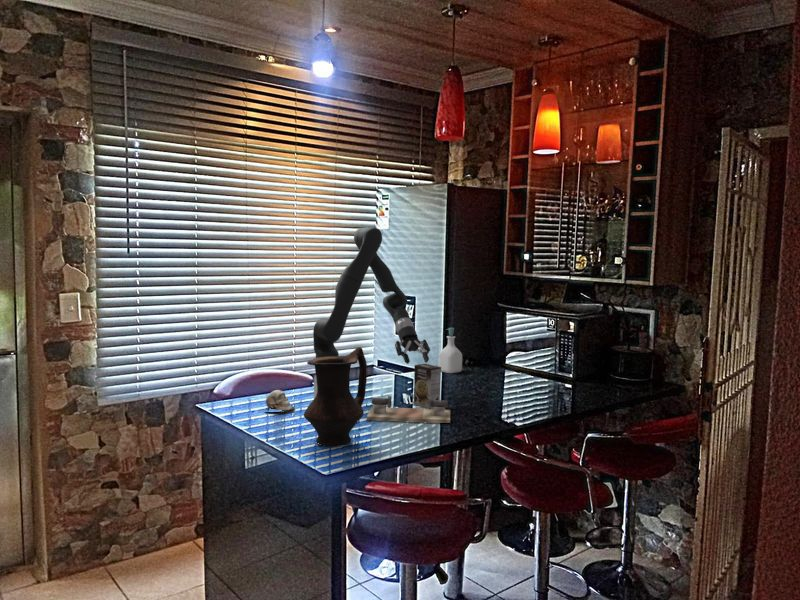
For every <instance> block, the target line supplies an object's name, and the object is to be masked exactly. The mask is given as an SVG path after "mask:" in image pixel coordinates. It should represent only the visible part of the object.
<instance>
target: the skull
mask: <svg viewBox="0 0 800 600" xmlns="http://www.w3.org/2000/svg"><path fill="white" fill-rule="evenodd" d="M265 403H266V406H267V407H268V408H267V409H269V408H271V409H276V410H282V411H286V412H291V411H294V410H295V406H292V405H291V402H290V401H289V398H288V397H286V393H285V392H284V391H283V390H280V389H276V390H275V389H274V390H272V391H271V392H270V393H269V394H268V395H267V397H266V399H265ZM291 406H292V407H291ZM286 412H285V413H286Z"/></svg>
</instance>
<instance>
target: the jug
mask: <svg viewBox="0 0 800 600" xmlns="http://www.w3.org/2000/svg"><path fill="white" fill-rule="evenodd" d="M306 362H307V365H310V366H314V371H315V376H316V380H317V395H316V397H315V399H314V398H313V400H312V401H311V402H310V403H309V405H308V406H307V407H306V409H305V411H304V412H303V417H304V418H305V419H306V421H307V422H308V423H309V424H311V426H312V428H314V431H316V433H317V438H316V440H315V443H316V442H317V443H319V444H321V445H320V446H322V445H325V446H324V447H328V446H331V447H334V446H335V447H342V446H343V445H345V446H346V445H349V444H350V443H351V442H352V438H351V436H350V434H351V433H350V432H352V430H353V428H354V427H355V426H356V425H357V424H358V422H359V421H360V420H361V419H362V417H363V415H364V410H363V403H364V401H365V398H366V389H367V380H368V379H367V377H368V371H367V368H368V365H367V363H368V362H367V360H366V357H365V354H364V350H363V348H362V347H361V346H358V347H356V348H355V349H354V350H353V351H351V352H350V353H349V354H347V355H339V356H335V357H319V358H316V357H314V358H313V359H308V360H307V361H306ZM357 363H358V367H359V368H358V370H359V372H358V373H359V374H358V384H357V391H356V395H355V397H354V396H353V394H352V393H351V390H350V385H351V382H350V381H351V379H350V372H351V366H352V365H355V364H357ZM317 443H316V444H317ZM319 444H318V445H319Z"/></svg>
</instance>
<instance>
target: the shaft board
mask: <svg viewBox="0 0 800 600" xmlns="http://www.w3.org/2000/svg"><path fill="white" fill-rule="evenodd" d="M448 402H449V400H443V399H442V400H441V399H440V400H432V397H429V404H428V408H413V407H411V408H410V407H409V408H408V407H392V395H387V398H386V397H371V405H373V406H371V407H370V409H369V412H367V415H366V421H367V420H376V422H390V421H409V422H408V423H414V422H426V423H425V424H438V423H450V424H451V409H446V408H448V405H449V403H448ZM431 407H434V408H432V409H431Z"/></svg>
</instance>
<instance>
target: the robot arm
mask: <svg viewBox="0 0 800 600" xmlns="http://www.w3.org/2000/svg"><path fill="white" fill-rule="evenodd" d="M353 240H354V243H355V246H356V247H357V249H358V253H357V255H356V256H355V258H353V259H352V260H351V262H350V263H348V264H347V266H346V267H345V268H344V269H343V271H342V272H341V274H340V277H339V279H338V281H337V283H336V285H335V290H334V291H335V295H334V296H335V297H334V299H335V300H334V306H333V308H332V311H331V314H330V316H329V317H328V318H326V317H322V318H319V319H318V320H316V322H315V323H314V325H313V338H312V339H313V351H314V355H315V358H319V357H335V356H340V355H339V351H338V349H336V346H335V343H336V342H337V341H339V340H340V338H341V337H342V334H343V333H344V329H345V328H346V327H345V326H346V323H347V320H348V317H349V314H350V311H351V309H352V306H353V305H354V302H355V300H356V297H357V295H358V293H359V291H360V289H361V286H362V284H363V281H364V279H365V276H366V274H367V272H368V270H369V269H371V271H372V273H373V275H374V277H375V279H376V281H377V284H378V287H379V288H380V290H381V292H382V293H391V294H389V295H385V296H384V297H383V299H382V305H383V307H384V308H385V310H386V311H387V312H388V314H389V315H390V316H391V318H392V321H393V322H394V326H395V330H396V331H395V332H396V333H397V335H398V339H399V340H396V342H395V344H394V347H395V351H396V354H397V356H398V357H399V356H402V358H403V361H404V363H406V365H409V363H410V362H411V359H410V357H409V355H408V353H407V352H417V353H419V354H421V356H422V358H423V361H424V362H425V363H424V364H428V362H429V361H430V358H429V353H430V352H431V348H430V346H429V344H428V342H427V340H426V339H425V338H424V339H423V340H419V338H418V333H417V332H416V329H415V326H414V324H413V322H412V320H411V318H410V314H409V312H408V310H407V309H406V308H403V307H405V306H406V305H407V304H408V298H407V296H406V294H405V293H404V292H403V291H402V289H401V288H400V287H399V285H398V284H397V282H396V281H395V277H394V276H393V274H392V272H391V270H390V268H389V267H388V266H387V264H386V263H385V262H384V260H383V259H382V258H381V257H380V256H379V254H378V253H377V252H378V251H379V249H380V248H381V245H382V241H383V233H382V232H381V230H380V229H379V228H377V227H370V226H369V227H359V228H358V229H356V230H355V232H354V235H353ZM402 348H404V349H403V350H402ZM316 395H317V380H316V375H313V400H314V399H315V397H316Z"/></svg>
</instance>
